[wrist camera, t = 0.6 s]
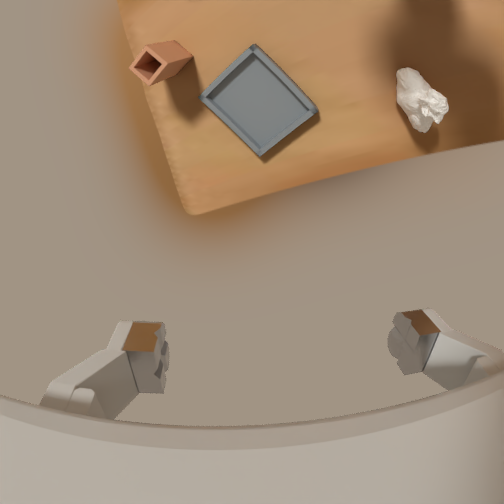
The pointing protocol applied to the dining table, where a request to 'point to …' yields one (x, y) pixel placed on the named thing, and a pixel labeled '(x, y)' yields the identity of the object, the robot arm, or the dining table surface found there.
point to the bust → (419, 100)
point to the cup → (160, 61)
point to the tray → (258, 100)
